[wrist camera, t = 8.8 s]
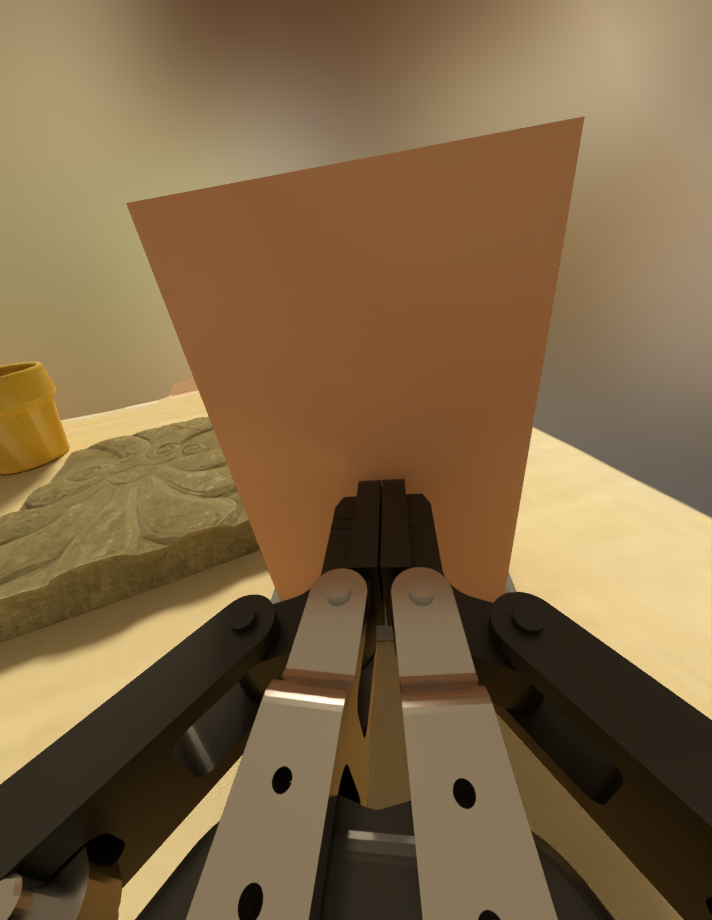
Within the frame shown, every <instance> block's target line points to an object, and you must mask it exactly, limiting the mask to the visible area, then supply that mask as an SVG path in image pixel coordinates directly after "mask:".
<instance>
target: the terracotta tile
mask: <svg viewBox="0 0 712 920" xmlns="http://www.w3.org/2000/svg"><path fill="white" fill-rule="evenodd" d="M583 123H584V117H580V118H574V119H569V120H563V121H559V122H553V123H548V124H543V125H537V126H532V127H527V128H521V129H516V130H511V131H505V132H500V133H495V134H490V135H484V136H479V137H474V138H469V139H463V140H458V141H453V142H447V143H442V144H437V145H431V146H426V147H421V148H416V149H410V150H406V151H400V152H395V153H389V154H384V155H379V156H374V157H368V158H363V159H357V160H352V161H347V162H342V163H337V164H331V165H326V166H321V167H315V168H310V169H305V170H299V171H294V172H289V173H284V174H278V175H273V176H268V177H263V178H257V179H252V180H247V181H242V182H236V183H231V184H225V185H220V186H215V187H210V188H204V189H199V190H194V191H189V192H184V193H178V194H173V195H168V196H162V197H157V198H152V199H146V200H141V201H136V202H131V203H126V204H127V206H128V209H129V212H130V214H131V217H132V219H133V222H134V224H135V227H136V229H137V232H138V235H139V237H140V240H141V243H142V245H143V248H144V250H145V253H146V256H147V258H148V261H149V263H150V266H151V268H152V271H153V274H154V276H155V279H156V281H157V284H158V286H159V289H160V291H161V294H162V297H163V299H164V302H165V304H166V307H167V310H168V312H169V315H170V318H171V320H172V322H173V325H174V328H175V330H176V333H177V336H178V338H179V341H180V343H181V346H182V349H183V351H184V354H185V356H186V359H187V361H188V364H189V367H190V369H191V372H192V374H193V377H194V380H195V382H196V385H197V387H198V390H199V392H200V395H201V398H202V400H203V403H204V405H205V408H206V411H207V413H208V416H209V418H210V421H211V423H212V426H213V429H214V431H215V434H216V436H217V439H218V442H219V444H220V447H221V449H222V452H223V455H224V457H225V460H226V462H227V465H228V467H229V470H230V473H231V475H232V478H233V480H234V483H235V486H236V488H237V491H238V493H239V496H240V498H241V501H242V504H243V506H244V509H245V511H246V514H247V517H248V519H249V522H250V524H251V527H252V529H253V532H254V535H255V537H256V540H257V542H258V545H259V548H260V550H261V553H262V555H263V558H264V560H265V563H266V566H267V568H268V571H269V573H270V576H271V579H272V581H273V584H274V586H275V589H276V591H277V594H278V597H279V599H280V602H281V601H284V600H288V599H291V598H294V597H297V596H299V595H301V594H303V593H305V592H306V591H308V590H309V589H310V588H311V587H312V585H313V584H314V582H315V581H316V580H317V579H318V578H319V577H320V575H321V572H322V568H323V563H324V558H325V554H326V549H327V544H328V539H329V534H330V532H331V525H332V522H333V515H334V511H335V507H336V506H337V505H338V503H339V502H340V501H341V500H342V498H343V497H353V496H357V489H358V482H359V481H367V480H381V483H382V480H388V479H405V489H406V494H421V493H422V494H423V495H424V496H425V497H426V498H427V500H428V501H429V502H430V503H431V507H432V513H433V519H434V524H435V530H436V536H437V542H438V547H439V553H440V559H441V565H442V570H443V573H444V575H445V577H446V579H447V580H448V582H449V583H450V584H451V585H452V586H453V587H455V588H456V589H457V590H459V591H460V592H462V593H464V594H466V595H469V596H471V597H475V598H478V599H482V600H485V601H489V602H492V603H494V601H495V600H496V599H497V598H498V597H500V596H501V595H503V594H505V588H506V582H507V576H508V570H509V564H510V559H511V553H512V547H513V541H514V535H515V529H516V523H517V517H518V511H519V505H520V499H521V493H522V487H523V481H524V475H525V469H526V463H527V457H528V451H529V445H530V439H531V433H532V427H533V421H534V415H535V409H536V403H537V397H538V391H539V384H540V379H541V373H542V367H543V362H544V355H545V350H546V344H547V337H548V331H549V325H550V320H551V314H552V308H553V302H554V295H555V290H556V283H557V278H558V272H559V266H560V260H561V253H562V248H563V242H564V236H565V230H566V224H567V218H568V212H569V206H570V200H571V194H572V188H573V182H574V176H575V170H576V164H577V159H578V152H579V147H580V140H581V134H582V129H583ZM385 615H386V610H385Z"/></svg>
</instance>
